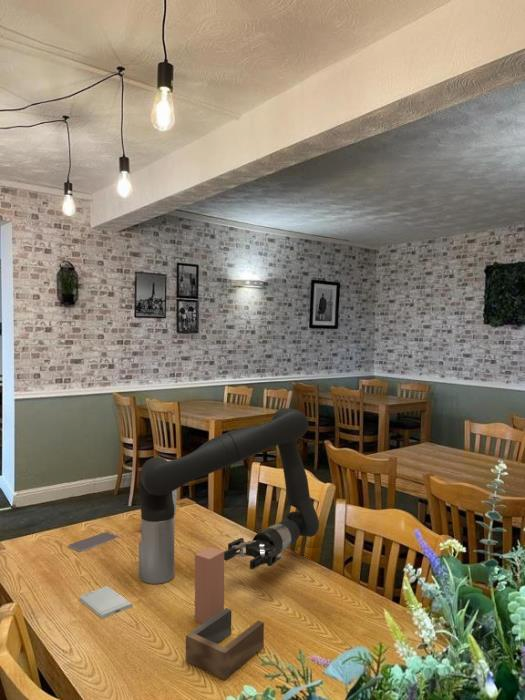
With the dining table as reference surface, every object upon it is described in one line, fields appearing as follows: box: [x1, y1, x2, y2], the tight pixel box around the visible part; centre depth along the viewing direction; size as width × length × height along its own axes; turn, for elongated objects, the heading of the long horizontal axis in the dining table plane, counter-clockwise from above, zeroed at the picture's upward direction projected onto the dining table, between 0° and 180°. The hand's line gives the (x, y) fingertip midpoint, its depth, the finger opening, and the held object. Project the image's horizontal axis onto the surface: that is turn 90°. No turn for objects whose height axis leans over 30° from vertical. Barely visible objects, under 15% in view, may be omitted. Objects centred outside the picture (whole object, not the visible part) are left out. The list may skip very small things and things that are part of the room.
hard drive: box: [79, 586, 133, 620], centre depth 132 cm, size 2×8×12 cm
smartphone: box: [67, 531, 119, 553], centre depth 171 cm, size 7×1×15 cm
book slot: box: [185, 607, 265, 681], centre depth 111 cm, size 10×14×6 cm
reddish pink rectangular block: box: [194, 546, 225, 625], centre depth 125 cm, size 4×6×16 cm
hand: (237, 561), depth 134 cm, fingers open, 8 cm apart
